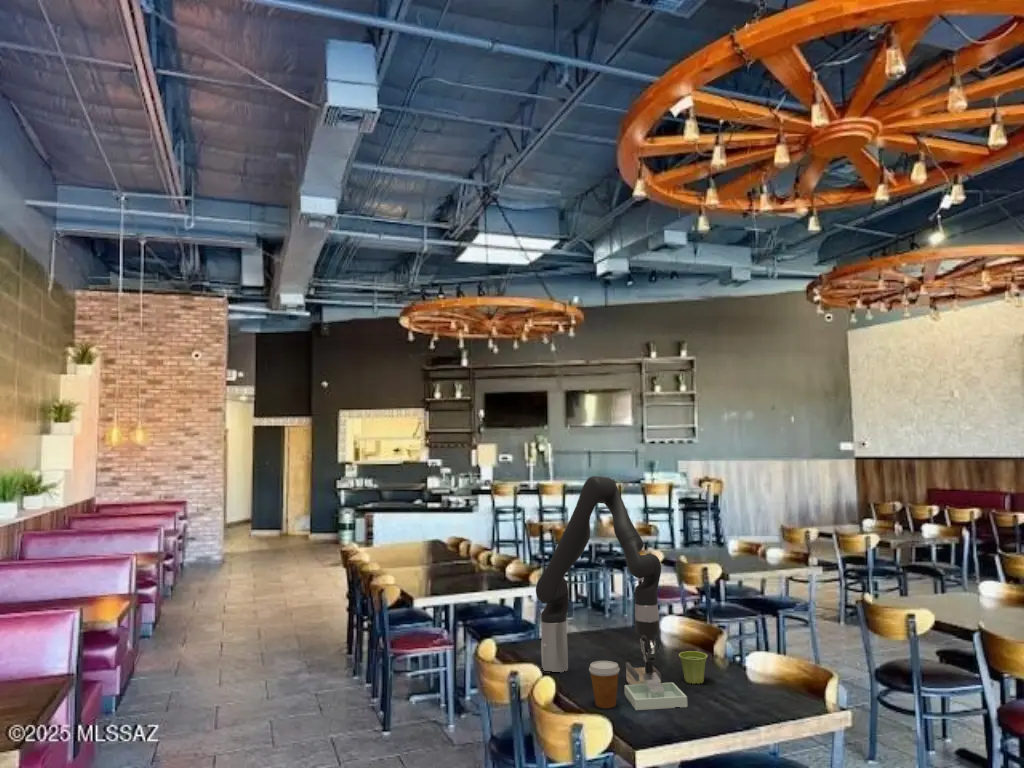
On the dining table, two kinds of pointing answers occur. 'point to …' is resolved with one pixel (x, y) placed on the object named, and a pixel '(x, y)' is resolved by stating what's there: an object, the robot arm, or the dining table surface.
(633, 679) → the slot board
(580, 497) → the robot arm
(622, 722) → the dining table surface
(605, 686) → the disposable coffee cup
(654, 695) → the pale grey cube
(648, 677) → the light grey cube
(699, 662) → the plant pot
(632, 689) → the tray
